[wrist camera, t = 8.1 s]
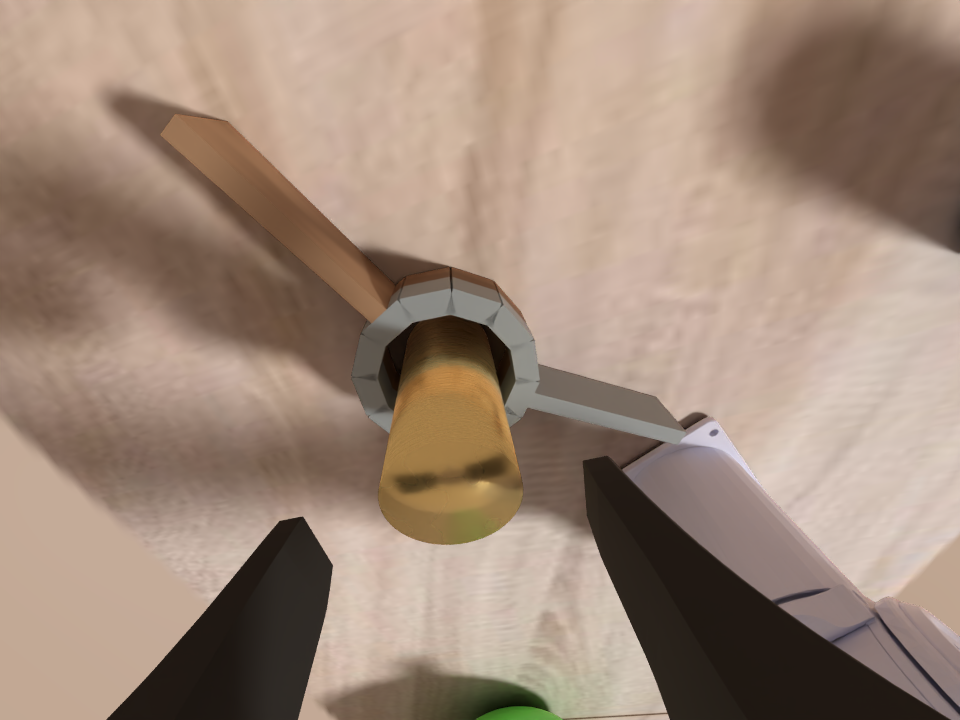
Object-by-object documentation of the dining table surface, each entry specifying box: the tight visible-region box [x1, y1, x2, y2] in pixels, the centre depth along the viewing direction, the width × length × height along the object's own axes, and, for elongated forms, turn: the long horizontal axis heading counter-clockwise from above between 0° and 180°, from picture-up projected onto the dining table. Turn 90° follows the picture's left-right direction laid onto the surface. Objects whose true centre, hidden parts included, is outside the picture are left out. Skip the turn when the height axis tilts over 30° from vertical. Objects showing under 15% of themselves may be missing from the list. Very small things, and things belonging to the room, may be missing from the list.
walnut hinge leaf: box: [160, 114, 526, 392], centre depth 15 cm, size 16×8×3 cm, turn 41°
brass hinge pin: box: [378, 315, 523, 545], centre depth 15 cm, size 4×4×9 cm
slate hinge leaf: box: [351, 277, 687, 445], centre depth 18 cm, size 14×10×3 cm
